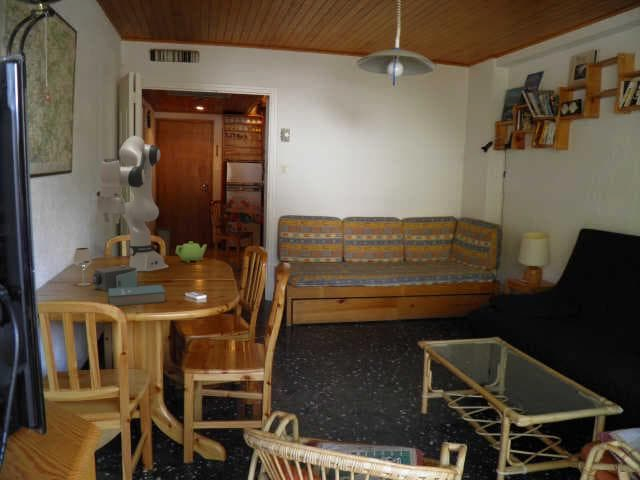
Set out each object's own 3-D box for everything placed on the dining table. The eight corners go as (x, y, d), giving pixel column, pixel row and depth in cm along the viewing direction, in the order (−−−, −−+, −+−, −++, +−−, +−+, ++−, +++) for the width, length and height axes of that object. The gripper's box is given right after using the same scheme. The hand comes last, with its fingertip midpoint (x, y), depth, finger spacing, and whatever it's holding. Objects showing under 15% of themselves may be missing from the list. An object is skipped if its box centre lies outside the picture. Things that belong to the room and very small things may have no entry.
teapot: (203, 258, 343) (203, 239, 341) (210, 261, 331) (210, 241, 330) (172, 261, 332) (172, 241, 331) (179, 264, 321) (178, 243, 319)
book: (109, 307, 221) (109, 296, 220) (108, 299, 235) (108, 288, 235) (165, 303, 229) (165, 291, 229) (161, 294, 244) (161, 284, 243)
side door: (136, 285, 260) (135, 269, 259) (139, 285, 259) (139, 269, 258) (116, 292, 245) (116, 275, 244) (120, 292, 245) (119, 275, 244)
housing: (126, 283, 266) (125, 264, 265) (136, 286, 260) (136, 266, 259) (91, 288, 253) (90, 268, 252) (101, 292, 246) (100, 271, 245)
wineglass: (75, 286, 257) (73, 250, 254) (74, 283, 264) (72, 248, 262) (93, 285, 260) (91, 249, 258) (92, 282, 268) (90, 247, 265)
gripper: (128, 194, 242) (129, 224, 244) (107, 192, 256) (107, 221, 257) (115, 194, 237) (116, 224, 239) (94, 192, 251) (95, 221, 252)
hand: (111, 222), depth 248 cm, fingers open, 8 cm apart
